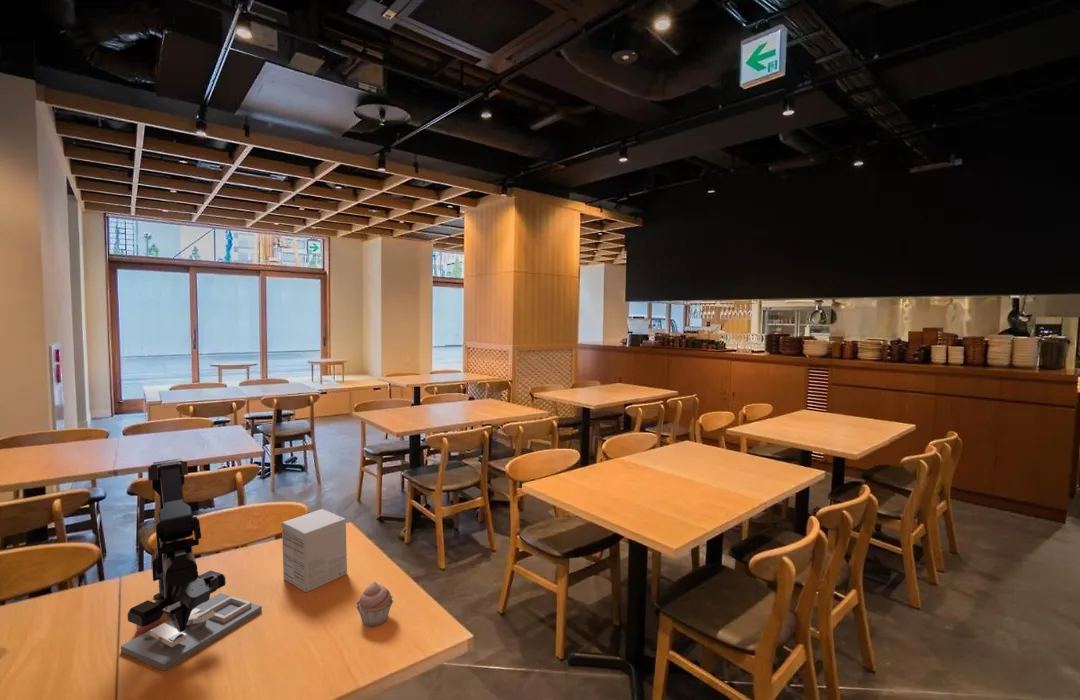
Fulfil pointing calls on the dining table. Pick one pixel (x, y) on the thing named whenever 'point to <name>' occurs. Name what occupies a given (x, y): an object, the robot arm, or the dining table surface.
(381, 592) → the cupcake
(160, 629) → the breaker
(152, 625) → the cap
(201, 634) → the panel
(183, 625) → the robot arm
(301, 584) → the supplement box
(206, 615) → the block
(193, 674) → the dining table surface
